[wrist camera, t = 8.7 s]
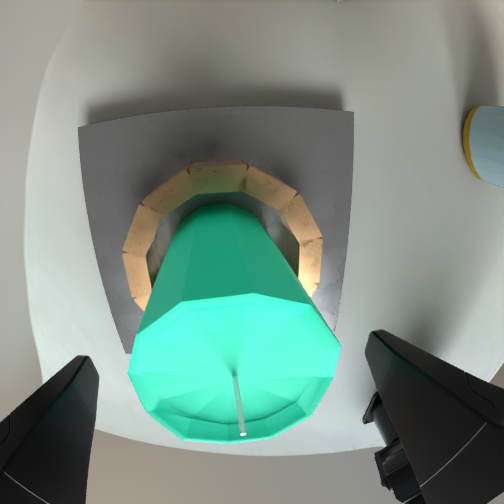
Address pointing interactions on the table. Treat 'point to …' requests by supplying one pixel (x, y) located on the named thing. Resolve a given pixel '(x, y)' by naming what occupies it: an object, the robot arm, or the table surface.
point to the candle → (230, 335)
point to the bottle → (485, 143)
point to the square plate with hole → (218, 192)
